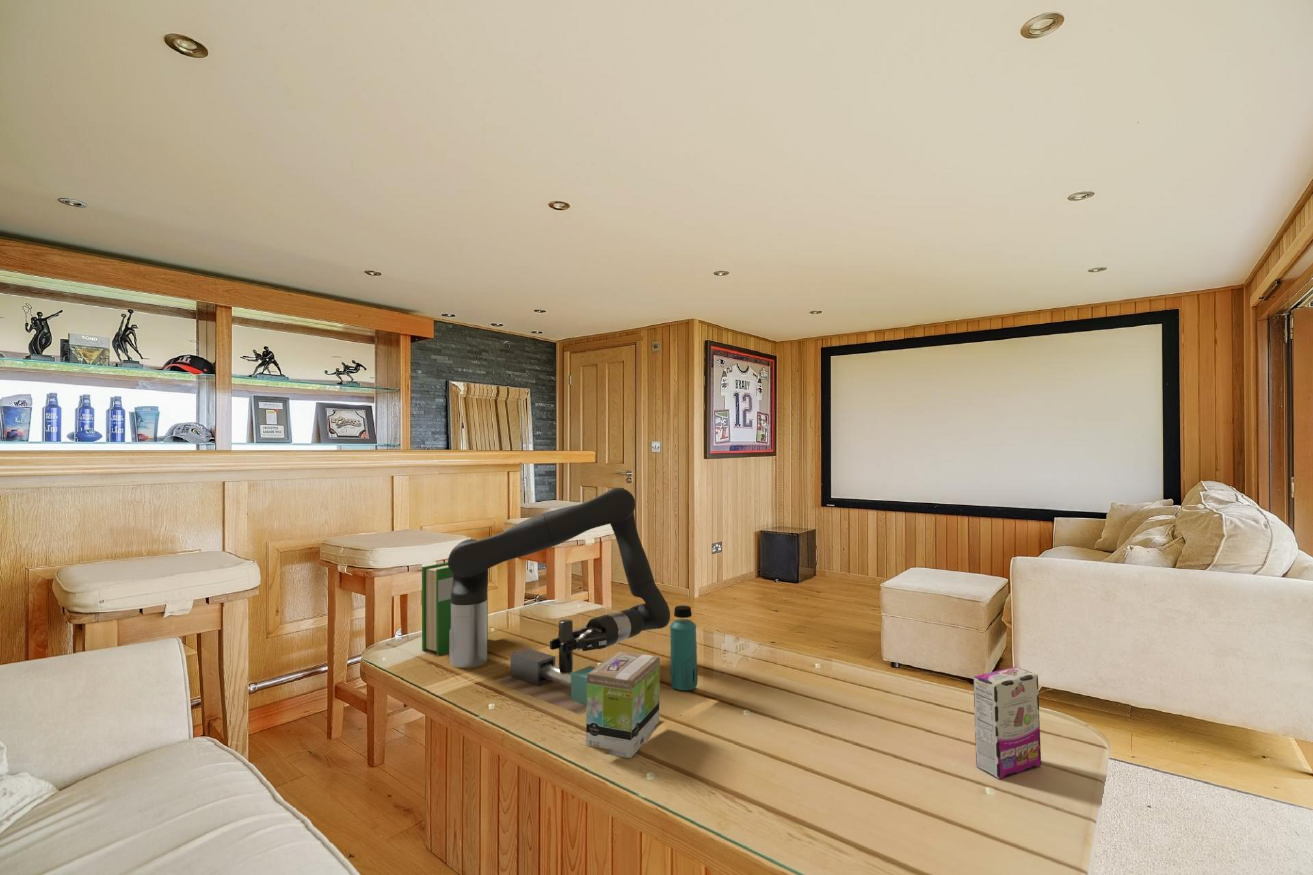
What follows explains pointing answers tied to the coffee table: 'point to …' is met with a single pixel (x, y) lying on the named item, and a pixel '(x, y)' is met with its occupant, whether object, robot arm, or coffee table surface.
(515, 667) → the grey block
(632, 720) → the tea box
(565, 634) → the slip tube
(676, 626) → the beverage bottle
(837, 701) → the coffee table surface
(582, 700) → the socket
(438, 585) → the hardback book
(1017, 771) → the candy bar box
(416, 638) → the coffee table surface
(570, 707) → the base board
